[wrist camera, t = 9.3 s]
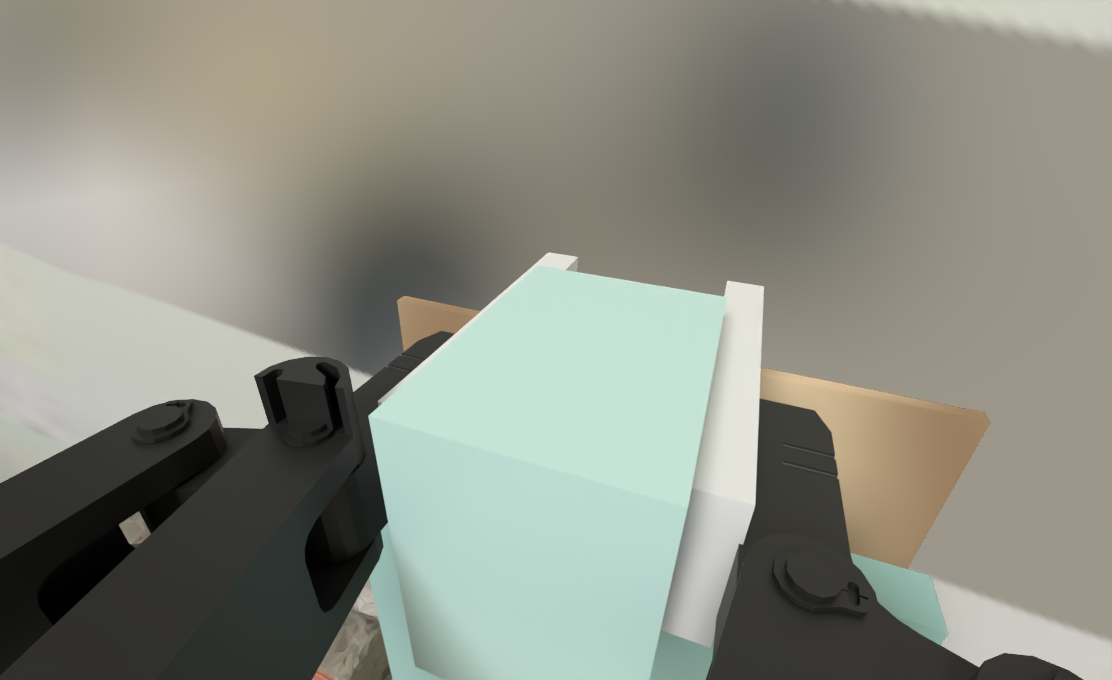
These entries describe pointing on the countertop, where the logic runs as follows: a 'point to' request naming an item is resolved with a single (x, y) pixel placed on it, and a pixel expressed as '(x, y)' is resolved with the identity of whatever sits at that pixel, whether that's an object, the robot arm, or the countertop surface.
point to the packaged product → (357, 651)
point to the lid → (558, 489)
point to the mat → (840, 444)
